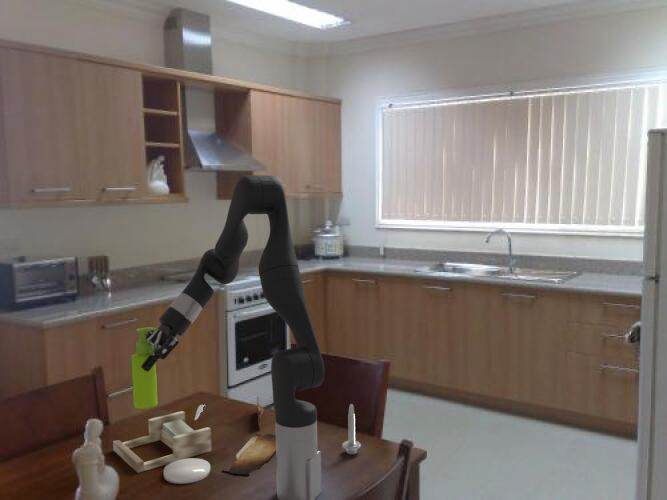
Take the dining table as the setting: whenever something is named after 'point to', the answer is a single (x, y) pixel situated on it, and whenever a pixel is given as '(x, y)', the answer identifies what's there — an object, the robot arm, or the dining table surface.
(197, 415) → the butter knife
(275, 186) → the robot arm
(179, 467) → the ceramic trivet
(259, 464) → the parchment
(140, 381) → the soap dispenser
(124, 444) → the offcut rack
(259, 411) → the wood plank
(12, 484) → the dining table surface
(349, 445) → the screw
